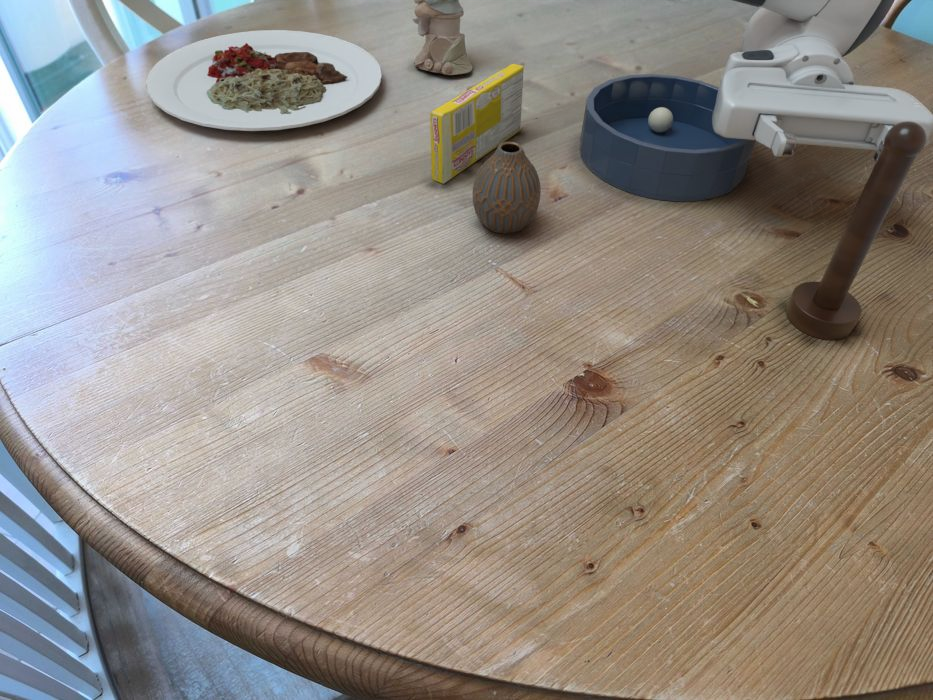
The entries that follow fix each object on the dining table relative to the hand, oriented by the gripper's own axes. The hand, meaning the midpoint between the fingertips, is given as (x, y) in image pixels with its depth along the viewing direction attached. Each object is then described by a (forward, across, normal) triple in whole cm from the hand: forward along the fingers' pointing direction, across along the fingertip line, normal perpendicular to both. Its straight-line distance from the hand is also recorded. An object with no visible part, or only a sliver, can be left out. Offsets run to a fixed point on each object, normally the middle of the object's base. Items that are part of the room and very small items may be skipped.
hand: (838, 154), depth 68 cm
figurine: (-39, +41, -12) cm, 58 cm away
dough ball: (-24, +12, -10) cm, 28 cm away
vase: (-1, +30, -12) cm, 32 cm away
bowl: (-18, +12, -12) cm, 25 cm away
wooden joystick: (+10, 0, -12) cm, 15 cm away
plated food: (-28, +63, -12) cm, 70 cm away
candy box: (-15, +34, -12) cm, 39 cm away
